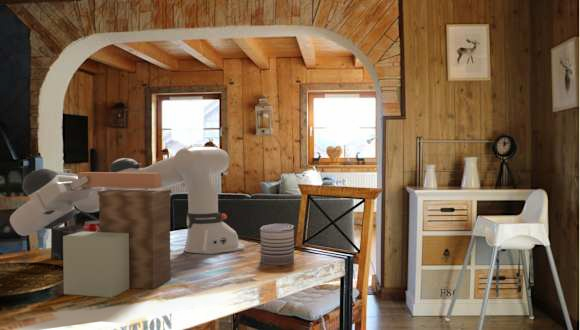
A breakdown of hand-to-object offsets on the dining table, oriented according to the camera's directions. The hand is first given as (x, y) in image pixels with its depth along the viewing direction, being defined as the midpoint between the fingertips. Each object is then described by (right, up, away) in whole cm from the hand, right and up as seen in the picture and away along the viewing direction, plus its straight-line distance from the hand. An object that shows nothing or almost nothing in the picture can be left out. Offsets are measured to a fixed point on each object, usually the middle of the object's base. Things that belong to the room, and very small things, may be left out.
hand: (93, 177), depth 137 cm
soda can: (-11, -29, +28) cm, 42 cm away
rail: (+8, -3, -2) cm, 9 cm away
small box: (-22, -29, +33) cm, 49 cm away
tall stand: (+13, -30, -2) cm, 32 cm away
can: (+52, -29, +25) cm, 65 cm away
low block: (+5, -30, -11) cm, 32 cm away
